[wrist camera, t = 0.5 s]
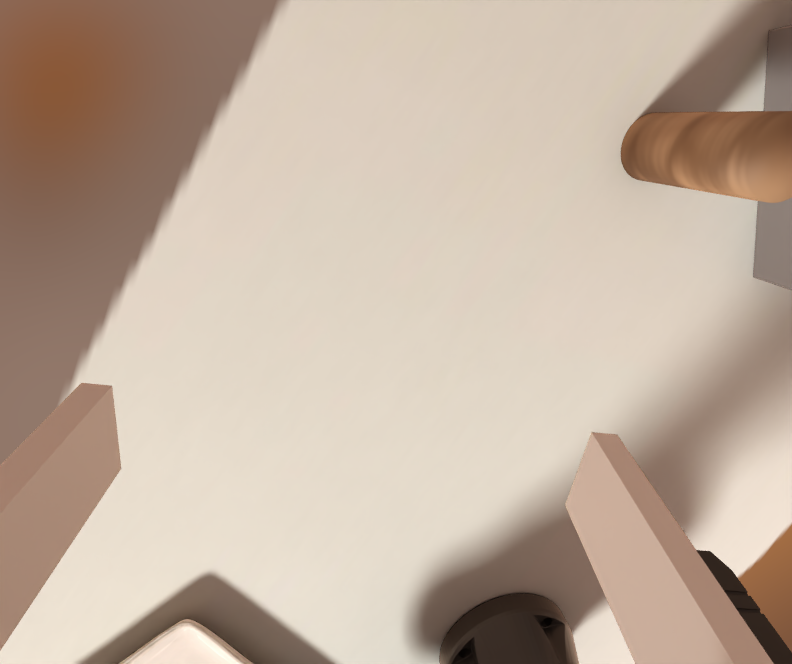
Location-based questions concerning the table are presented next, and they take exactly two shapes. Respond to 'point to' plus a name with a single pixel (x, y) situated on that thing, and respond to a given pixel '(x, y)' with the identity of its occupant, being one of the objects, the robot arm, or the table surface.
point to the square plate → (186, 647)
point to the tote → (788, 220)
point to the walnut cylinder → (714, 152)
